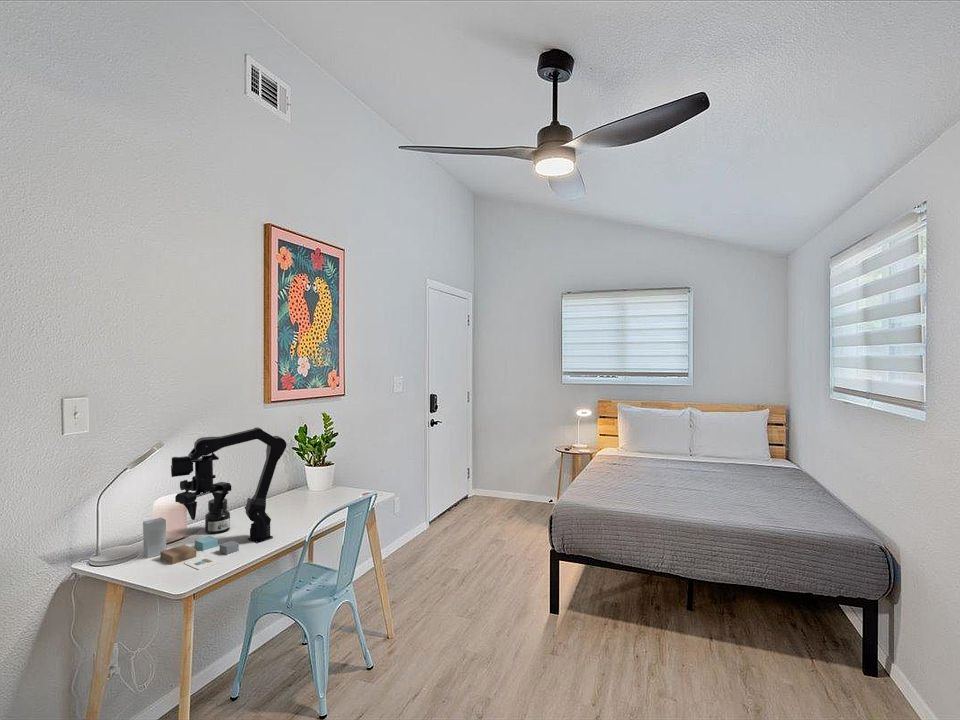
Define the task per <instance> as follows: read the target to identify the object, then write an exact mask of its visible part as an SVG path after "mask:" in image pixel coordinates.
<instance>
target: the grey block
mask: <svg viewBox="0 0 960 720" xmlns="http://www.w3.org/2000/svg"><path fill="white" fill-rule="evenodd" d="M239 545H240V544H239V543H238V542H236V541H233V540H230V541H229V540H228V541H226V542H223V543H220V544H219V553H220V554H223V555H226V556H229V555H231V553H232V554H234V552H235V553H237V551H238V552H239V548H240V547H239ZM228 554H229V555H228Z"/></svg>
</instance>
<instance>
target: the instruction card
mask: <svg viewBox="0 0 960 720" xmlns="http://www.w3.org/2000/svg"><path fill="white" fill-rule="evenodd" d="M183 564H185V565H186V566H188V567H192V568H193V569H196V570H198V571H199V570H203V569H206V568H208V567H211V566H214V565H217V564H220V562H219V561H218V560H215V559H212V558H210V557H207V556H202V557H199V558H195V559H192V560H190V561H187V562H186V561H185V562H184V563H183Z"/></svg>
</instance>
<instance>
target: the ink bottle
mask: <svg viewBox="0 0 960 720" xmlns="http://www.w3.org/2000/svg"><path fill="white" fill-rule="evenodd" d="M207 502H208V503H207V505H208V506H207V507H208V512H207V513H206V514H205V517H204V526H205V527H204V530H205V531H204V532H205V533H206V534H209V535H216V534H221V533H225V532H227V531H229V530H230V529H231V512H230V511H228V499H227V498H226V497H225V498H224V500H223V502H222V504H221V506H220V508H219V510H218V512H215V511H214V498H212V499H210V500H208V501H207Z"/></svg>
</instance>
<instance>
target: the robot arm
mask: <svg viewBox="0 0 960 720" xmlns="http://www.w3.org/2000/svg"><path fill="white" fill-rule="evenodd" d="M254 440H259V441H260V442H262V443H263V444H265V445H266V451H265V453H266V455H265V461H264V464H263V468H262V471H261V473H260V476H259V479H258V480H259V481H258V482H257V487H256V489H255V493H254V495H253V496H252V498H250V497H247V500H246V505H245V506H244V510H245V513H246V516H247V517H248V519H249V520H250V521H251V522H252V523H250V528H249V537H248V540H249V541H253V542H255V543H261V542H265V541H267V540H270V539H273V538H274V536H273V535H271V522H272V519H271V517H270V516H269V514H268V513H267V512H266V508H267V495H268V492H269V489H270V486H271V482H272V480H273V477H274V474H275V470H276V468H277V464H278V462H279V460H280V459H281V457H282V456H283V454H284V452H285V450H286V449H287V445H288V444H287V442H286V440H285V439H284V438H282V437H281V436H279V435H272V434H270V433H269V432H266V431H264V430H263V429H262V428H260V427H257V426H256V427H254V428H251V429H247V430H243V431H239V432H233V433H230V434H226V435H225V434H224V435H222V436H221V435H220V436H203V437H199V438H197V439H196V441H195V442H194V445H193V448H192V449H191V451H190V452H189V454H188V455H187V456H185V455H184V456H172V457H171V465H170V475H171V478H174V477H183V476H184V477H185V476H189V475H191V474H192V473H193V472H194V471H195V472H194V473H195V474H194V476H192V478H191V479H192V480H191V481H188V479H184V480H181V481H179V489H180V490H181V491H182V492H180V493H177V494H176V495H175V503H179V504H181V505H184V507H185V508H186V510H187V512H188V514H189V517H190V518H191V520H192V521H195V520H196V517H197V516H196V513H197V507H198V501H196V500H197V498H198V497H202V496H205V495H208V494H212V496H213V499H214V511H215V512H218V510H219V508H220V506H221V504H222V502H223V500H224V498H225V499H226V496H227V495H228V494H229V492H231V491H232V484H231V483H230V482H227V481H220V482H219V481H218V482H216V483H214V479H215V478H216V474H214V462H213V461H218V460H219V459H220V458H219V456H217V455H216V454H215V452H217V451H220V450H222V449H223V448H226V447H230V446H234V445H239V444H242V443H246V442H247V443H248V442H251V441H254ZM184 490H185V491H184ZM183 491H184V492H183ZM190 491H191V492H190Z"/></svg>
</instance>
